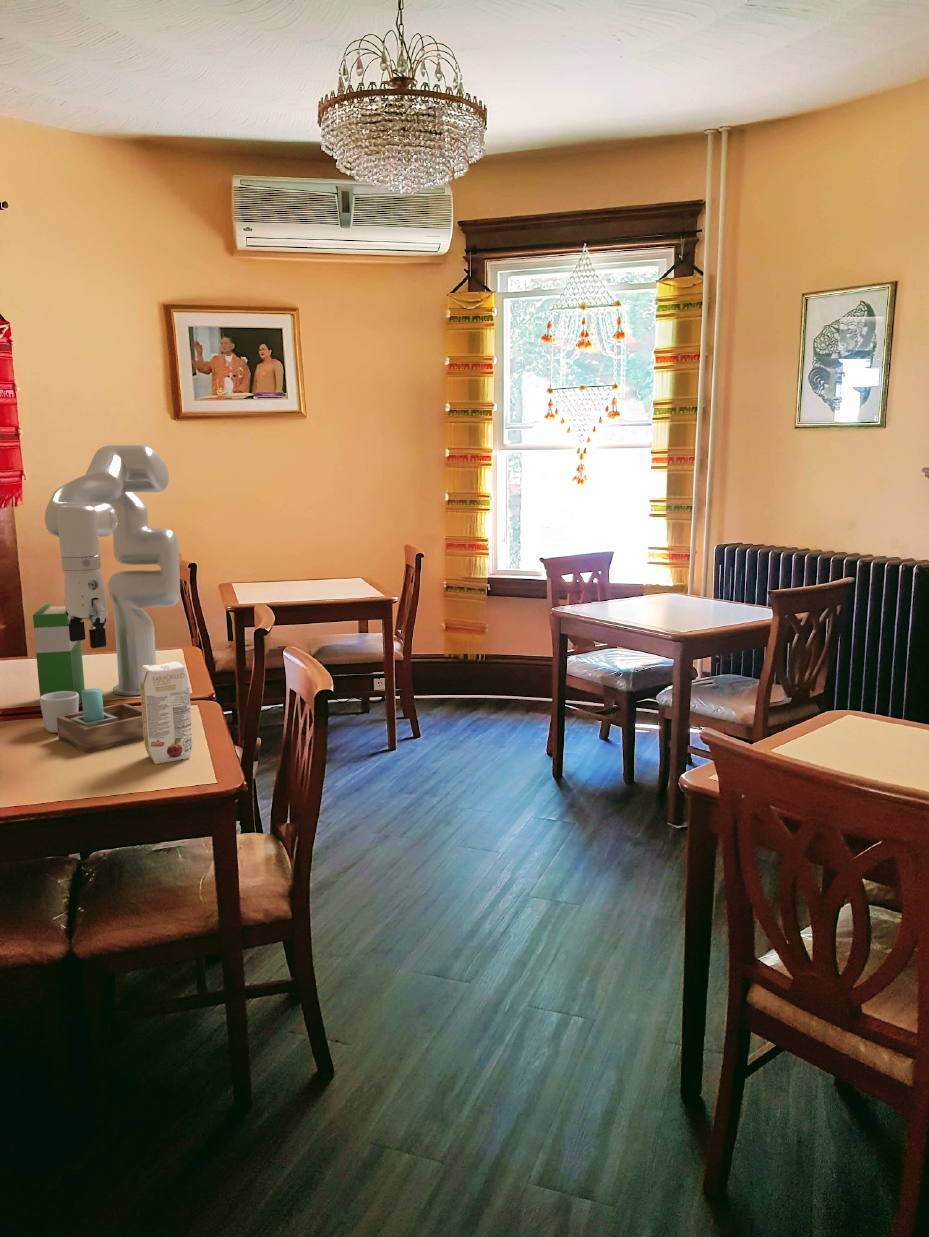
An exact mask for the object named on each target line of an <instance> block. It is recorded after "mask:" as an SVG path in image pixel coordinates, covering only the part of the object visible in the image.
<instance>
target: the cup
mask: <svg viewBox="0 0 929 1237" xmlns="http://www.w3.org/2000/svg"><path fill="white" fill-rule="evenodd" d="M38 699H39V704H40V711H41V710H42V713H41V715H42V718H43V723H44V727H45V729H46V731H47V732H49V733H53V734H55V733H56V734H58V727H57V716H62V715H67V714H72V713H77V712H79V707H80V705H79V694H78V693H77V692H73V691H60V692H52V693H48V694H45V695H42V696H41V697H40V696H39V698H38Z"/></svg>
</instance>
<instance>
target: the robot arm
mask: <svg viewBox="0 0 929 1237" xmlns="http://www.w3.org/2000/svg"><path fill="white" fill-rule="evenodd" d="M168 470H169V469H168V467H167V464H166V462H165V461H164V460H163V458H162V457H161V456H160V455H159V454H158V453H157V451H155V450H154V449H153V448H151V447H149V446H146V445H142V444H141V445H140V444H138V445H137V444H135V445H134V444H133V445H132V444H129V445H128V444H127V445H126V444H122V445H121V444H119V445H118V444H110V445H106V446H105V445H104V446H102V447H100V448H99V449H97V450H96V452H95V453H94V455H93V457H92V460H91V461H90V464H89V466H88V468H87V470H86V472H85V474H83V475H81V476H79V477H77V478H75V479H73V480H71V481H69V482H67V483H65V484H63V485H62V486H60V487H58V488H57V489H56V490H55V491H54V492H53V494H52V496H51V497H50V499H49V501H48V502H47V505H46V508H45V512H44V524H45V527H46V528H45V529H47V531H48V533H49V534H51V535H52V536H54V537H57V538H59V551H60V561H61V562H60V563H61V572H62V573H64V606H65V607H66V614H67V616H68V618H67V621H68V626H69V637H70V641H72V642H74V641H80V640H81V641H84V640H86V629H85V621H83V620H86V621H87V622H88V625H89V627H90V629H88V632H89V633H88V634H89V635H88V636H89V647H90V649H98V648H105V647H106V646H107V636H106V628H107V625H106V623H107V616H108V605H107V604H108V603H107V598H106V597H107V596H106V590H105V584H104V578H103V575H102V573H101V571H102V564H101V552H100V542H99V538H102V537H108V536H110V535H111V534H112V541H113V542H112V543H113V548H112V549H113V554H114V555H113V556H114V558H115V561H116V562H118V563H119V564H120V565H125V566H159V568H160V569H157V570H156V569H155V570H153V569H152V570H148V569H147V570H144V569H139V570H138V569H137V570H122V571H117V572H115V573H113V574H112V575H111V576H110V577H109V579H108V582H107V591H108V596H109V600H110V603H111V604H110V605H111V609H112V613H113V615H112V616H113V622H114V633H115V634H114V636H115V648H116V662H117V664H116V665H117V675H118V684H116V685H114V686H113V688H112V693H114V694H115V695H120V696H141V688H140V676H141V669H142V666H143V665H157V658H156V655H157V654H156V653H157V652H156V641H155V640H156V639H155V625H154V622H153V619H152V618H151V617H150V615H149V614H148V612H146V611H145V609H144V608H159V607H160V608H161V607H162V608H163V607H166V608H167V607H172V606H176V604H178V602H179V600H180V596H181V577H180V576H181V574H180V572H181V570H180V550H179V549H180V548H179V547H180V545H179V541H178V538H177V535H176V533H175V531H173V530H171V529H169V528H165V527H161V528H160V527H159V528H155V527H154V528H151V527H150V528H149V523H148V520H149V518H148V517H149V516H148V508H147V506H146V505H145V504H144V502H143V501H142V500H141V498H139V497H138V496H137V494H135V493H161V492H162V491H164V490H166V489H167V487H168V485H169V481H170V480H169V478H170V475H169V471H168Z"/></svg>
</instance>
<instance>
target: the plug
mask: <svg viewBox="0 0 929 1237" xmlns="http://www.w3.org/2000/svg"><path fill="white" fill-rule="evenodd" d="M81 693H82V701H81V704H82V711H83V718H84V722H86V723H89V722H94V721H99V720H103V719H104V712H103V707H104V701H103V689H102V688H98V687H96V688H94V687H92V688H86V689H85V690H83V691H81Z"/></svg>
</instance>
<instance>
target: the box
mask: <svg viewBox="0 0 929 1237" xmlns="http://www.w3.org/2000/svg"><path fill="white" fill-rule="evenodd" d="M103 712H105V713H107V714H110V715H112V716H115V717H117V718H118V721H116V722H111V723H107V724H102V725H97V726H93V727H86V726H83V725H81V724H79V723H77V722H74V721H72V720H71V718H74V717H79V716H83V710H82V711H78V712H77V713H72V714H67V715H62V716H57V727H58V733H57V737H58V739H57V740H60V741H62V742H64V743H65V744H68V745H70V746H71V747H74V748H76V749H78V750H80V751H82V752H84V753H86V754H88V753H89V754H90V753H93V752H96V751H97V752H98V751H102V750H106V749H109V748H113V746H114V747H118V746H117V745H119V746H123V745H126V744H125V743H127V744H130V742H131V743H134V742H133V741H135V742H138V741H137V740H139V741H142V739H143V740H144V732H143V718H142V708H139V707H136V706H133V705H130V704H128V703H126V702H122V703H117V704H112V705H107V706H103ZM105 748H106V749H105Z"/></svg>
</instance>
